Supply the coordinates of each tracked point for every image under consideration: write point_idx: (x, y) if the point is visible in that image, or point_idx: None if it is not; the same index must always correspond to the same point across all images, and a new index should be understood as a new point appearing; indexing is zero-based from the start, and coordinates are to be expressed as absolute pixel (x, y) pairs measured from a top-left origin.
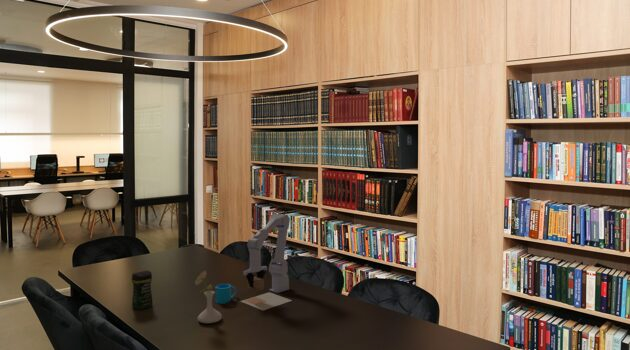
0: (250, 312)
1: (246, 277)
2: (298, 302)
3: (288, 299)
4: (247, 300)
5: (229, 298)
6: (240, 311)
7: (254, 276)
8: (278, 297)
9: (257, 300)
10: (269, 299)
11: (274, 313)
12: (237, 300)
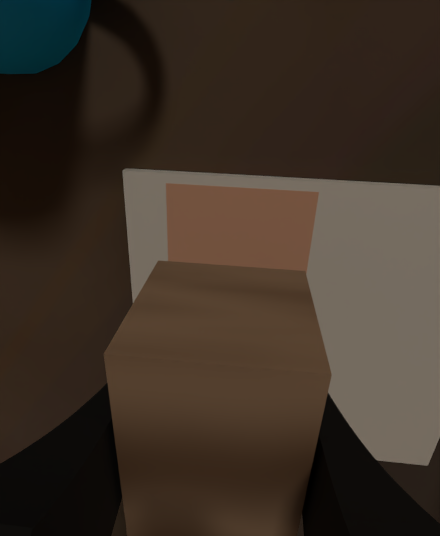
0: (72, 383)
1: (8, 459)
2: (431, 489)
3: (432, 439)
4: (189, 211)
5: (16, 68)
6: (23, 325)
7: (321, 386)
8: (434, 362)
9: None
10: (343, 340)
11: None
12: (137, 94)
